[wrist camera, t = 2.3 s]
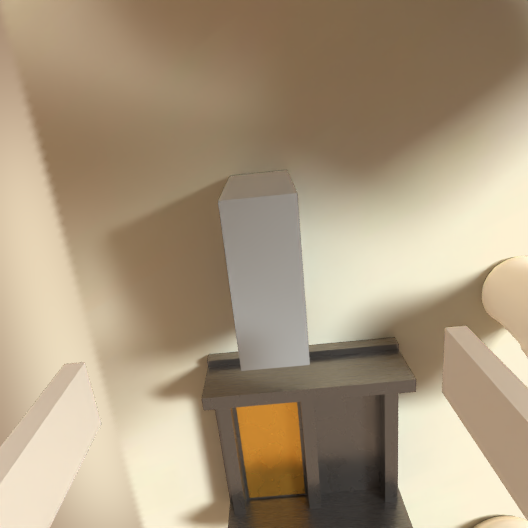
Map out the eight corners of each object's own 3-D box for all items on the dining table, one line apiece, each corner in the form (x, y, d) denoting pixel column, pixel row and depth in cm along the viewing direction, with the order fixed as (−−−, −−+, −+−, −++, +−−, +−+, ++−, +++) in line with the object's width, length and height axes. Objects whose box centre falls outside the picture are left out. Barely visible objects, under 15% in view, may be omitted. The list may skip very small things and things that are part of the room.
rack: (208, 354, 35) (198, 399, 29) (394, 337, 34) (420, 380, 29) (233, 503, 40) (228, 565, 35) (394, 489, 40) (415, 550, 34)
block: (229, 175, 30) (218, 200, 22) (287, 169, 30) (297, 193, 22) (246, 305, 33) (241, 370, 25) (297, 300, 33) (310, 364, 25)
